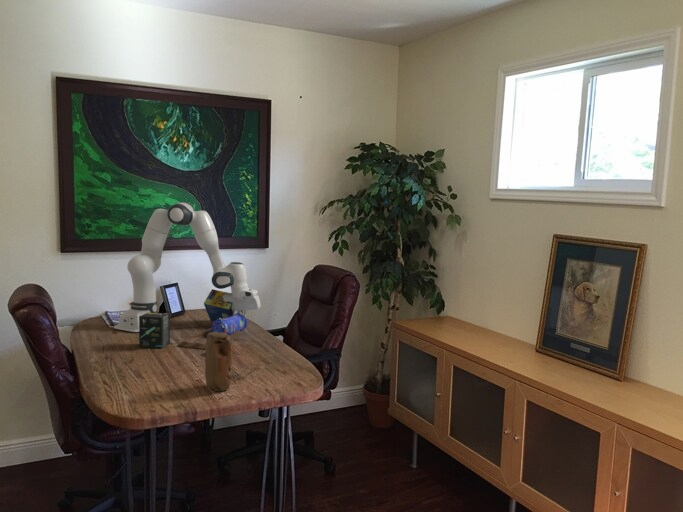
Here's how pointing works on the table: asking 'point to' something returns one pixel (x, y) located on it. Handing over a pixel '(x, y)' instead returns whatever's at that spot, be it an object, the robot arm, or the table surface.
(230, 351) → the block
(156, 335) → the tampon box
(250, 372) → the table surface
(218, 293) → the protein box
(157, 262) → the robot arm
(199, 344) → the frame
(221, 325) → the pencil case
